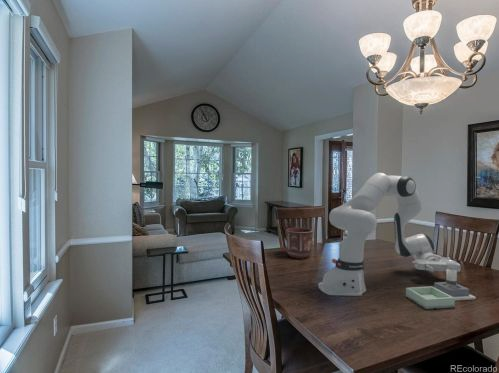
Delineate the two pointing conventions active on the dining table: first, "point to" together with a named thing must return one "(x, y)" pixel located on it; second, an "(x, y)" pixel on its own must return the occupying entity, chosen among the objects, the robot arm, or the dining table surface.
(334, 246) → the dining table surface
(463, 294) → the fuse board
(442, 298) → the parts tray
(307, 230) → the pottery
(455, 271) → the cylinder
